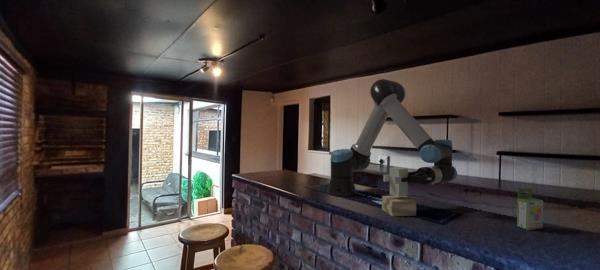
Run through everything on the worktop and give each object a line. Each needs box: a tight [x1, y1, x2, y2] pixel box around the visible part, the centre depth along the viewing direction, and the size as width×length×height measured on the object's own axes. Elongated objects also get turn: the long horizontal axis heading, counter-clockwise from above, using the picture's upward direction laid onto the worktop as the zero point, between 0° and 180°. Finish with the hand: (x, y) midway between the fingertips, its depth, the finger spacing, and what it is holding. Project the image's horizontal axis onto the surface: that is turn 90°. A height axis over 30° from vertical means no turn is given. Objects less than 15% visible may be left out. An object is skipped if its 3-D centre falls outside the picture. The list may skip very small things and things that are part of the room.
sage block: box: [389, 166, 409, 197], centre depth 119 cm, size 5×5×11 cm
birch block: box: [381, 195, 417, 217], centre depth 119 cm, size 10×10×6 cm
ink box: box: [516, 187, 544, 231], centre depth 100 cm, size 7×4×13 cm, turn 105°
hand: (389, 179), depth 117 cm, fingers closed on sage block, 5 cm apart
